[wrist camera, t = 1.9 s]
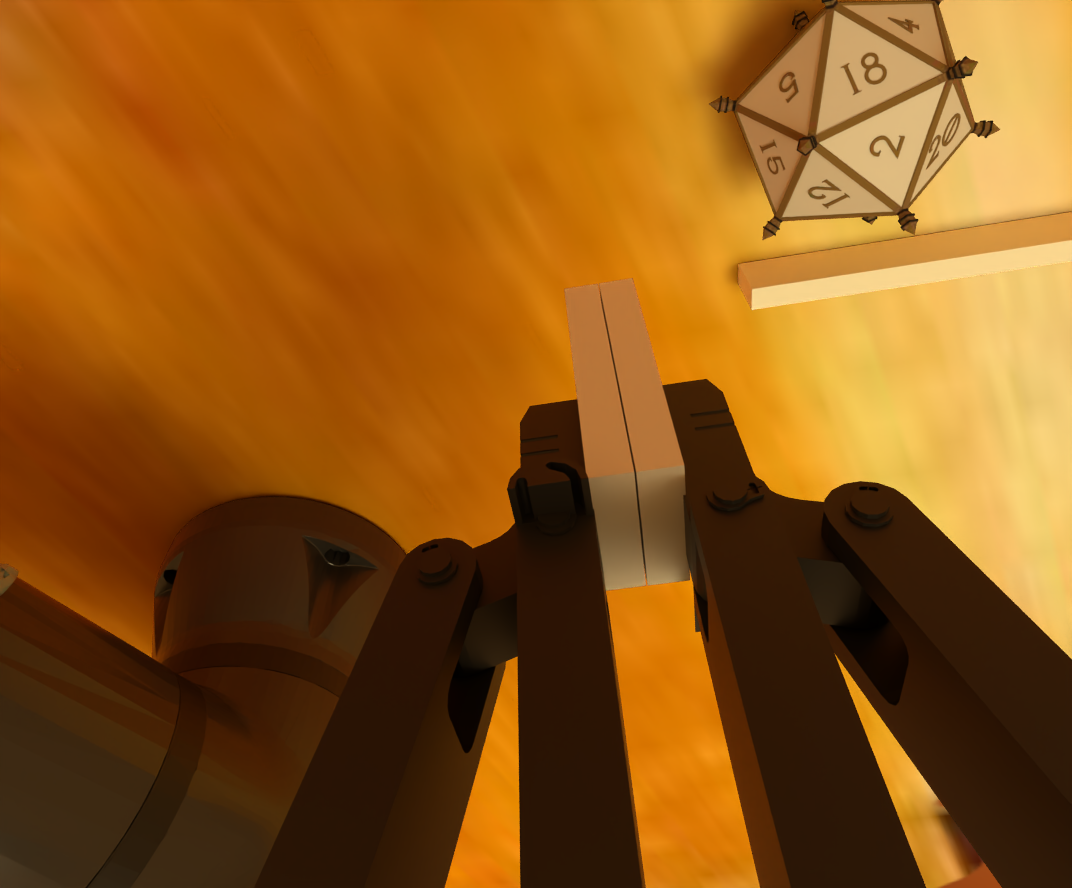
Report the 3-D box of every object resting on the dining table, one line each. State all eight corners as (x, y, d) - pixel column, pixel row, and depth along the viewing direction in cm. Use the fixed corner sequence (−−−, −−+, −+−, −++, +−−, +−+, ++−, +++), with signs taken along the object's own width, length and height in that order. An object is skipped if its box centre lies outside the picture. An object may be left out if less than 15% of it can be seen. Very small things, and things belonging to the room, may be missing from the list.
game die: (805, 14, 32) (1038, -138, 22) (873, 206, 34) (1112, 142, 24) (634, 95, 29) (814, -37, 20) (719, 296, 31) (917, 263, 22)
